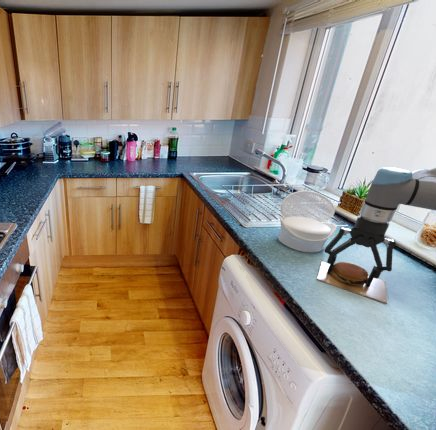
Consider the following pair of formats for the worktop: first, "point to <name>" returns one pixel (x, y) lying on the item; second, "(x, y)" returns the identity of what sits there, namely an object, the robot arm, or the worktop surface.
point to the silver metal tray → (373, 291)
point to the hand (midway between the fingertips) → (347, 278)
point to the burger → (349, 273)
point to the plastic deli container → (306, 222)
